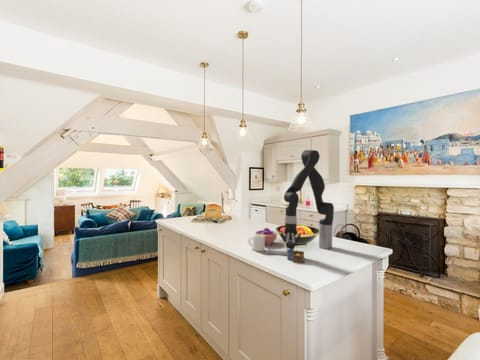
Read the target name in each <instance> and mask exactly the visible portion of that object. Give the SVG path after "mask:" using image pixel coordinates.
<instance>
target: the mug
mask: <svg viewBox="0 0 480 360" xmlns="http://www.w3.org/2000/svg"><path fill="white" fill-rule="evenodd" d="M248 238H249V239H248V244H249V246H250V247H252V251H254V252H263V251H265V249H266V248H265V247H266V246H265V245H266V244H265V235H262V234H256V233H255V234H253V235H252V236H250V237H248ZM251 240H252V241H251Z"/></svg>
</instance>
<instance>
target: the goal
mask: <svg viewBox="0 0 480 360" xmlns="http://www.w3.org/2000/svg"><path fill="white" fill-rule="evenodd" d="M297 253H299V254H301V256H299V255H296V254H297ZM292 263H298V264H305V251H301V250H297V251H296V250H295V251H294V255H293V256H292Z"/></svg>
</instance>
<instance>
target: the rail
mask: <svg viewBox="0 0 480 360" xmlns="http://www.w3.org/2000/svg"><path fill="white" fill-rule="evenodd" d="M267 250H268V251H267V254H268V255H276V256H277V255H278V256H287V257H288V253H286V250H285V251H284V250H274V249H271V247H268V249H267ZM295 251H298V250H297V249H296V250H295ZM293 255H294V253H292V257H293Z"/></svg>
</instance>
